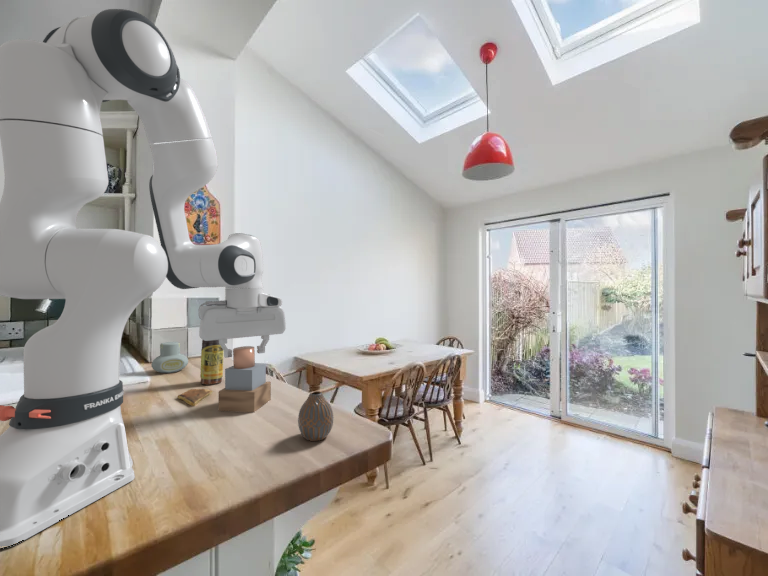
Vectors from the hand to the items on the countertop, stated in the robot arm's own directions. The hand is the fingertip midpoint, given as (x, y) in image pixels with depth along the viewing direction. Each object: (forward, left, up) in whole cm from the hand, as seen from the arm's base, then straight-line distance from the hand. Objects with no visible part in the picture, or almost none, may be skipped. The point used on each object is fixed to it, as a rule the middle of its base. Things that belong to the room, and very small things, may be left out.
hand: (244, 355), depth 87 cm
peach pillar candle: (0, 0, -3) cm, 3 cm away
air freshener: (+30, +43, -13) cm, 54 cm away
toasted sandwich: (+4, +15, -13) cm, 20 cm away
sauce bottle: (+18, +20, -13) cm, 30 cm away
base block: (0, 0, -13) cm, 13 cm away
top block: (0, 0, -8) cm, 8 cm away
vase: (-16, -23, -13) cm, 31 cm away
